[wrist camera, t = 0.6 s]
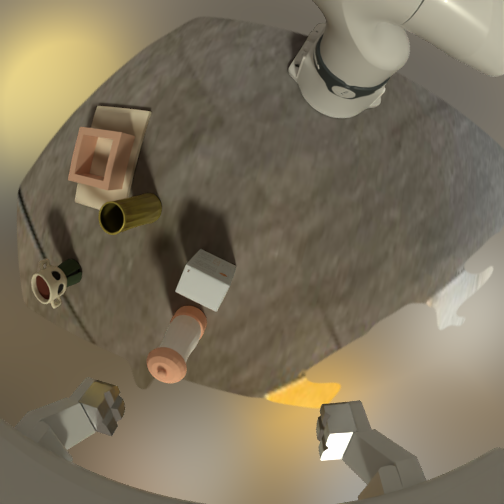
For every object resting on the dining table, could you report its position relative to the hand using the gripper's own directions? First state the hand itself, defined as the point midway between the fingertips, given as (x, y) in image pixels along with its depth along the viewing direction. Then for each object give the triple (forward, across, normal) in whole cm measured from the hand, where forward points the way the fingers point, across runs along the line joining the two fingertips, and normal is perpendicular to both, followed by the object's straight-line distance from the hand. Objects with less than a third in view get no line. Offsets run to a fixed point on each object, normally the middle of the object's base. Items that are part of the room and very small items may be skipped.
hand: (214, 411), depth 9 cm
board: (+43, +31, -15) cm, 55 cm away
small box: (+43, +9, +8) cm, 45 cm away
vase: (+43, +22, -4) cm, 49 cm away
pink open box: (+42, +31, -15) cm, 54 cm away
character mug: (+44, +45, +10) cm, 63 cm away
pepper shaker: (+43, +14, +20) cm, 50 cm away
